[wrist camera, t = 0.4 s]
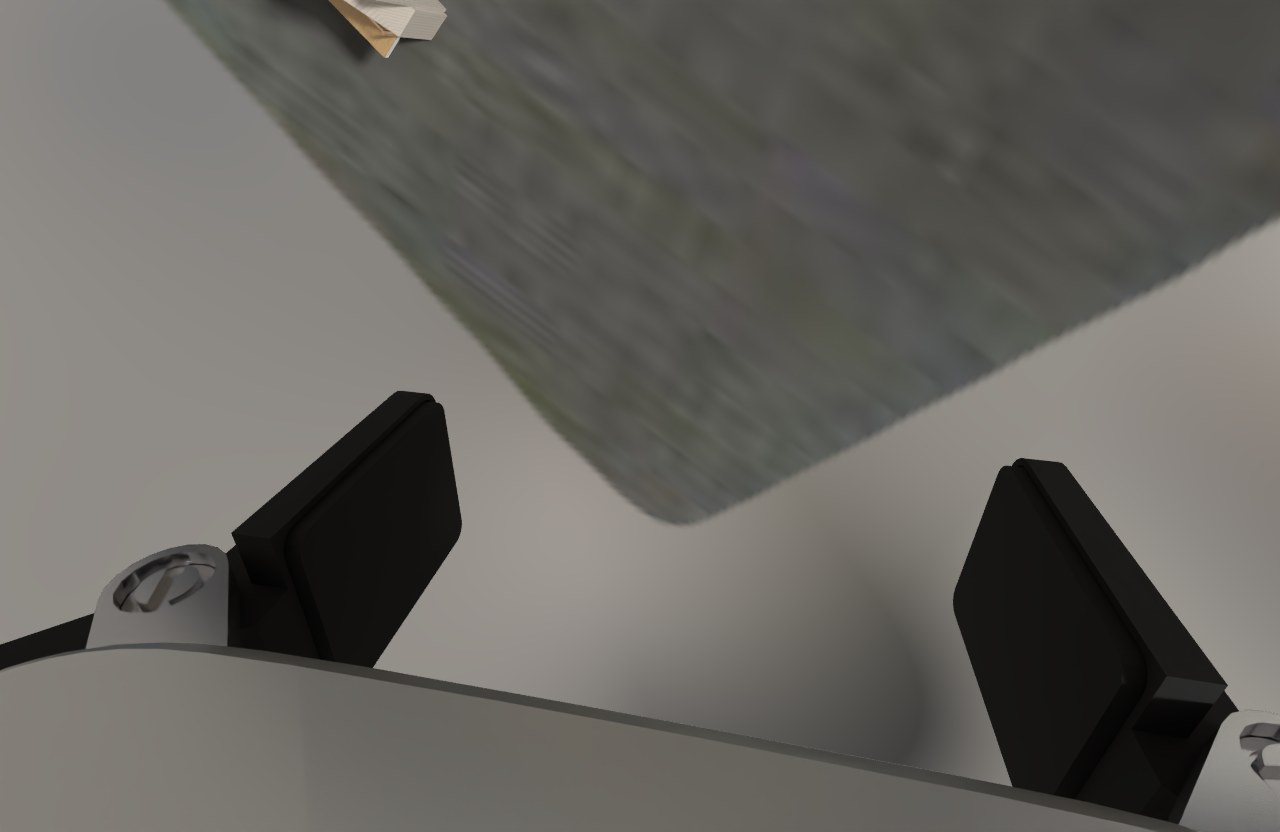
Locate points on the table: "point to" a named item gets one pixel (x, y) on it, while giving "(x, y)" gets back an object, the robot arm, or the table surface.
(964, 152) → the table surface
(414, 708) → the robot arm
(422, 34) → the architectural model
